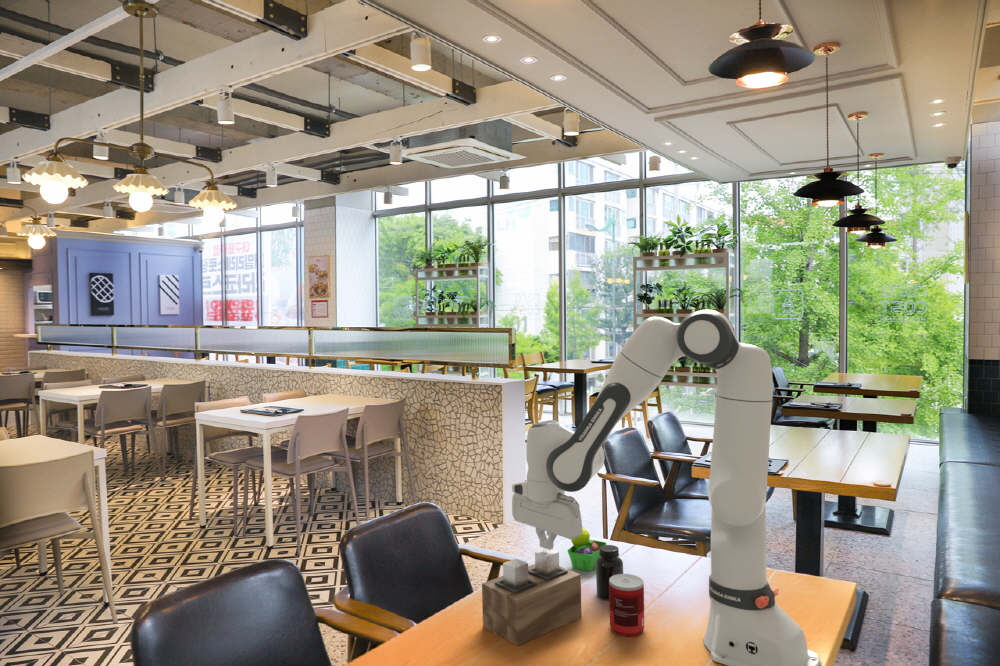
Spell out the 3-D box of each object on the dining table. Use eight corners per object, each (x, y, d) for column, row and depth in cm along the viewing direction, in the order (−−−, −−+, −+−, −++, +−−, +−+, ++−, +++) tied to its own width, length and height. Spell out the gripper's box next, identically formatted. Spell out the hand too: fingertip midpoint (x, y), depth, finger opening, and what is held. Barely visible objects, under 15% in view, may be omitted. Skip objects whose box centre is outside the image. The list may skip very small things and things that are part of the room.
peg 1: (528, 602, 149) (527, 563, 149) (515, 608, 147) (514, 568, 146) (516, 597, 152) (516, 558, 152) (503, 602, 150) (502, 563, 149)
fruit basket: (592, 574, 180) (591, 532, 180) (562, 568, 185) (561, 527, 184) (608, 560, 190) (607, 521, 189) (579, 554, 194) (579, 516, 194)
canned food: (631, 618, 154) (631, 571, 153) (651, 633, 146) (651, 584, 146) (603, 624, 151) (602, 576, 151) (621, 640, 143) (620, 590, 143)
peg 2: (559, 589, 156) (558, 552, 156) (547, 594, 153) (546, 556, 153) (547, 584, 159) (546, 547, 159) (535, 589, 156) (534, 551, 156)
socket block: (581, 616, 155) (580, 571, 155) (518, 646, 142) (517, 597, 142) (545, 600, 164) (544, 558, 164) (482, 626, 151) (481, 580, 151)
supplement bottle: (622, 589, 169) (622, 543, 169) (625, 601, 163) (624, 553, 162) (595, 589, 170) (594, 542, 170) (596, 600, 163) (596, 552, 163)
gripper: (588, 495, 149) (589, 556, 150) (526, 479, 165) (527, 534, 165) (568, 501, 145) (569, 563, 146) (507, 484, 161) (508, 540, 161)
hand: (546, 547), depth 156 cm, fingers closed
